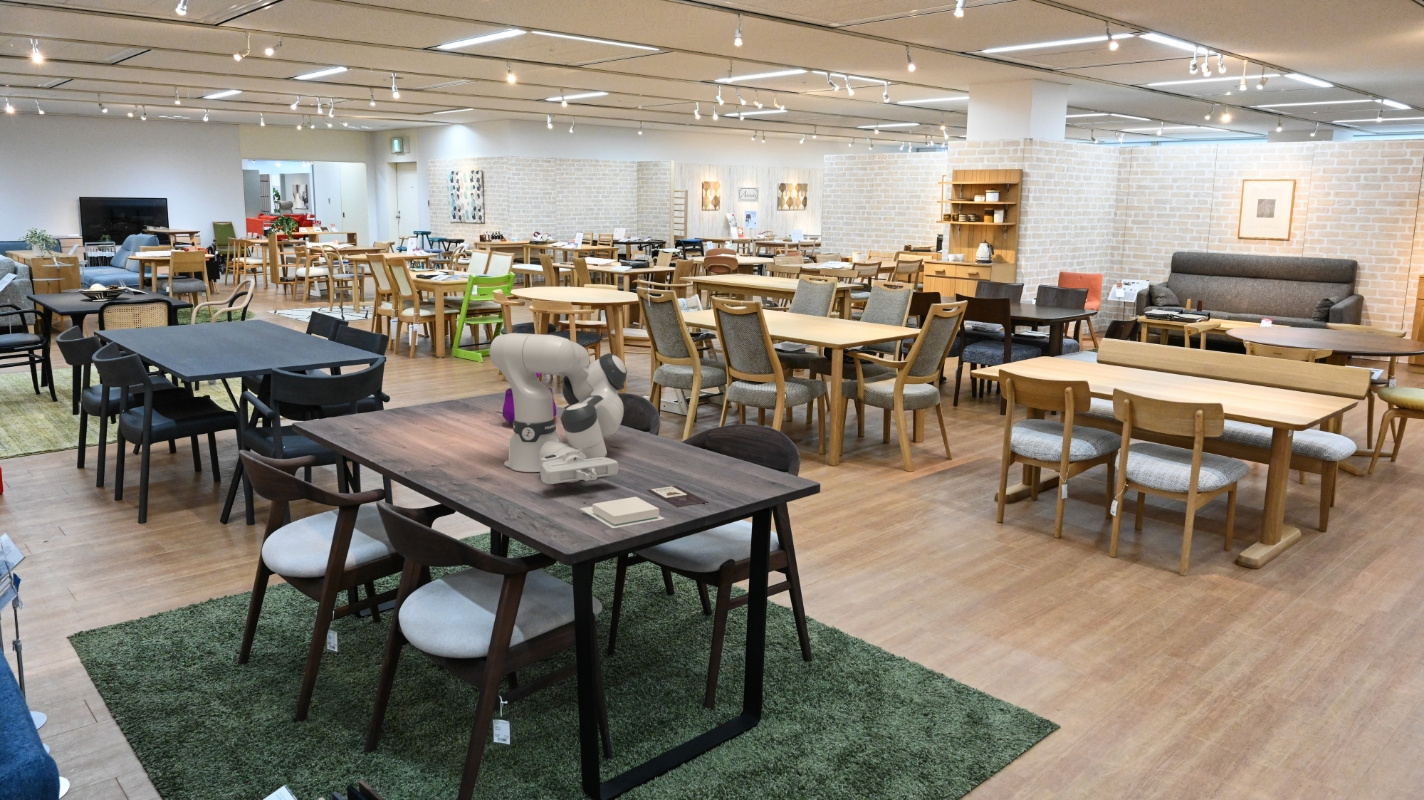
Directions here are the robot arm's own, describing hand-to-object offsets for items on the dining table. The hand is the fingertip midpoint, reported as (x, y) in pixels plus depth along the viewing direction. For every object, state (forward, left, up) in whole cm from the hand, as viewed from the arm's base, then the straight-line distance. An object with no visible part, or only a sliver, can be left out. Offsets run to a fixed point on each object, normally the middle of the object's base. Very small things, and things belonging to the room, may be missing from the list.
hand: (591, 477), depth 252 cm
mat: (+12, +10, -6) cm, 17 cm away
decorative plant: (-88, -45, -6) cm, 99 cm away
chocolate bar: (-5, +21, -7) cm, 23 cm away
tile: (+9, +8, -4) cm, 13 cm away
